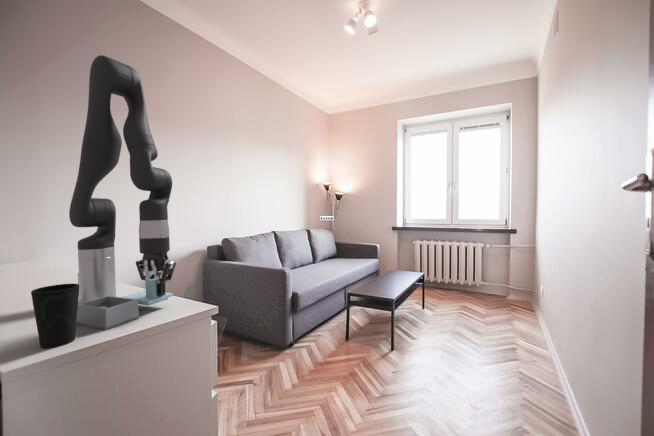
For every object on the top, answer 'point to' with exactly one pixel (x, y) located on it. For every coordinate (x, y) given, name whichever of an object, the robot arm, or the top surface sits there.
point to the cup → (56, 314)
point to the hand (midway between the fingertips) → (156, 295)
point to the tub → (107, 312)
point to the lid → (149, 294)
